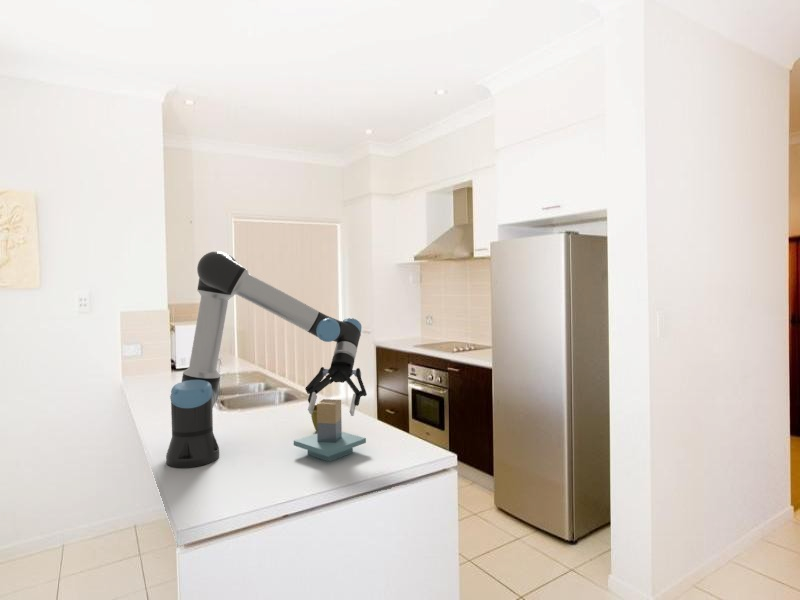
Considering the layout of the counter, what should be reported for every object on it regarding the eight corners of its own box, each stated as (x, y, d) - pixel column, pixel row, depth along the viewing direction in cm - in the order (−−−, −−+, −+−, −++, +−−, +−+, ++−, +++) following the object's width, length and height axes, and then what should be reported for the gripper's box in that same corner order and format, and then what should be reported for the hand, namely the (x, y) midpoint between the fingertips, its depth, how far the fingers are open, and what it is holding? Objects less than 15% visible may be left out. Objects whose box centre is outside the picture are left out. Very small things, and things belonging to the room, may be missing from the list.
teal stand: (293, 454, 158) (293, 440, 158) (331, 441, 171) (331, 428, 171) (328, 466, 148) (328, 451, 148) (366, 452, 160) (365, 438, 160)
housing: (317, 441, 157) (316, 403, 156) (323, 436, 163) (323, 399, 162) (335, 442, 156) (335, 404, 155) (341, 436, 162) (341, 399, 161)
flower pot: (312, 436, 177) (312, 411, 177) (310, 429, 185) (309, 405, 185) (337, 434, 179) (337, 409, 179) (334, 427, 188) (333, 403, 187)
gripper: (381, 365, 173) (371, 420, 159) (312, 363, 178) (296, 417, 164) (377, 352, 168) (367, 408, 154) (306, 350, 172) (289, 404, 158)
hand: (330, 412), depth 159 cm, fingers open, 13 cm apart
